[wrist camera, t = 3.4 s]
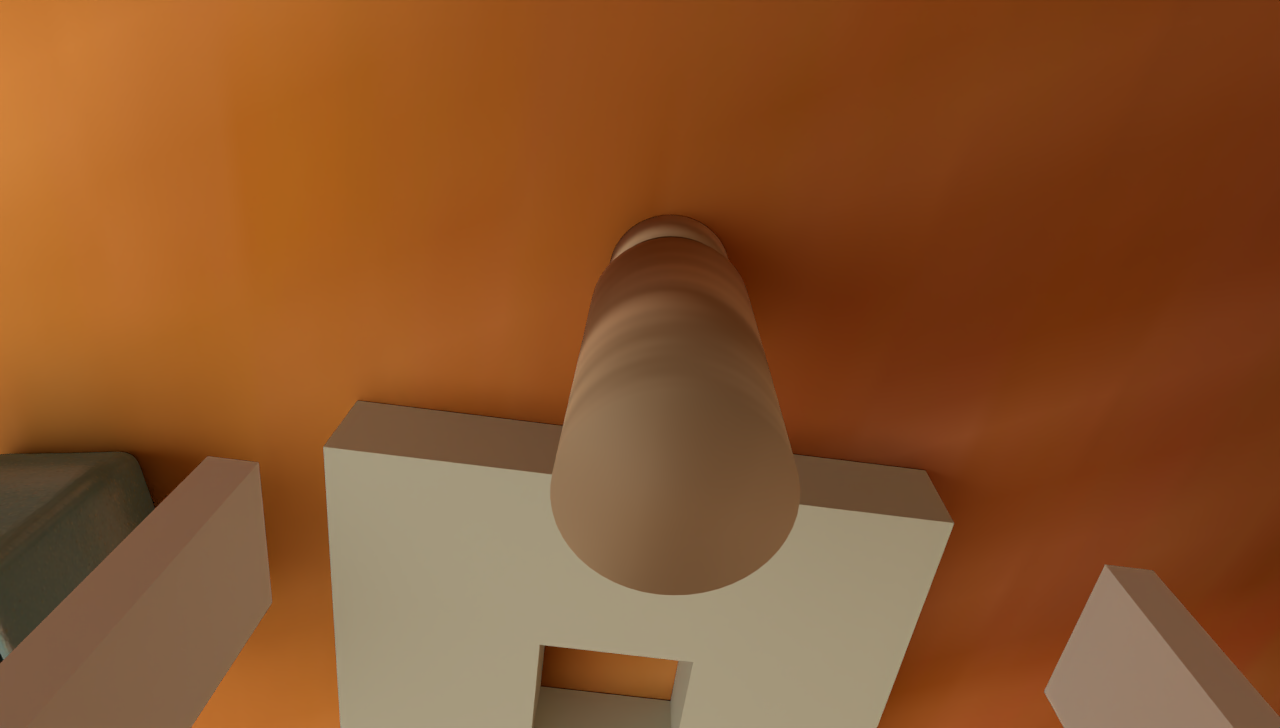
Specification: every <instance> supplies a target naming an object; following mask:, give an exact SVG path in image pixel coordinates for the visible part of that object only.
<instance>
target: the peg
mask: <svg viewBox="0 0 1280 728" xmlns="http://www.w3.org/2000/svg"><path fill="white" fill-rule="evenodd" d="M550 500H551V507H552V512H553V516H554V519H555V522H556V525H557V527H558V529H559V531H560V533H561V535H562V537H563V539H564V540H565V542H566V543H567V545H568V546H569V548H570V549H571V550H572V551H573V552H574V553H575V554H576V555H577V557H578V558H579V559H580V560H582V561H583V562H584V563H585V564H586V565H587V566H588V567H590V568H591V569H592V570H594V571H595V572H597V573H598V574H600V575H601V576H603V577H605V578H607V579H609V580H611V581H613V582H615V583H617V584H620V585H622V586H625V587H627V588H630V589H634V590H638V591H641V592H646V593H652V594H659V595H691V594H698V593H704V592H708V591H713V590H717V589H720V588H723V587H725V586H728V585H731V584H733V583H735V582H737V581H739V580H742V579H744V578H746V577H747V576H749V575H750V574H752V573H753V572H755V571H757V570H758V569H759V568H760V567H762V566H763V565H764V564H765V563H767V562H768V561H769V560H770V559H771V558H772V557H773V556H774V555H775V554H776V553H777V551H778V550H779V549H780V548H781V546H782V545H783V543H784V542H785V541H786V539H787V537H788V536H789V534H790V532H791V530H792V528H793V526H794V523H795V520H796V517H797V514H798V509H799V503H800V482H799V475H798V471H797V467H796V463H795V460H794V456H793V453H792V449H791V446H790V442H789V438H788V435H787V431H786V428H785V424H784V420H783V417H782V413H781V410H780V406H779V403H778V399H777V395H776V392H775V388H774V385H773V381H772V378H771V374H770V370H769V367H768V363H767V360H766V356H765V353H764V349H763V345H762V342H761V338H760V335H759V331H758V327H757V324H756V320H755V317H754V313H753V310H752V306H751V302H750V299H749V295H748V292H747V289H746V286H745V284H744V281H743V279H742V277H741V276H740V274H739V273H738V271H737V269H736V268H735V267H734V266H733V265H732V263H731V262H730V261H729V260H728V256H727V253H726V251H725V249H724V246H723V244H722V243H721V241H720V240H719V238H718V237H717V236H716V235H715V234H714V233H713V232H712V231H711V230H710V229H709V228H708V227H706V226H705V225H703V224H702V223H700V222H698V221H696V220H694V219H691V218H688V217H684V216H679V215H661V216H655V217H652V218H649V219H646V220H644V221H642V222H640V223H638V224H636V225H635V226H633V227H632V228H631V229H630V230H628V231H627V232H626V233H625V234H624V236H623V237H622V238H621V239H620V241H619V242H618V244H617V245H616V247H615V249H614V251H613V254H612V257H611V261H610V264H609V265H608V267H607V268H606V269H605V270H604V272H603V273H602V275H601V276H600V278H599V280H598V282H597V284H596V287H595V290H594V293H593V297H592V301H591V305H590V310H589V314H588V318H587V323H586V327H585V332H584V336H583V340H582V345H581V349H580V354H579V358H578V362H577V367H576V371H575V375H574V380H573V384H572V389H571V393H570V397H569V402H568V406H567V410H566V415H565V419H564V424H563V428H562V432H561V437H560V441H559V446H558V450H557V454H556V459H555V463H554V467H553V472H552V478H551V484H550Z"/></svg>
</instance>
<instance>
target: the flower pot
mask: <svg viewBox="0 0 1280 728" xmlns="http://www.w3.org/2000/svg"><path fill="white" fill-rule="evenodd" d="M154 509H155V507H154V504H153V501H152V498H151V496H150V493H149V490H148V487H147V485H146V482H145V479H144V476H143V473H142V470H141V468H140V465H139V463H138V461H137V460H136V459H135V457H134V456H132V455H131V454H128V453H125V452H85V453H37V454H0V661H3V660H4V659H5V658H6V657H7V656H8V655H9V654H10V653H11V652H12V651H13V650H14V649H15V648H16V647H17V646H18V645H19V644H20V643H21V642H22V641H23V640H24V639H25V638H26V637H27V636H28V635H29V634H30V633H31V632H32V631H33V630H34V629H35V628H36V627H37V626H38V625H39V624H40V623H41V622H42V621H43V620H44V619H45V618H46V617H47V616H48V615H49V614H50V613H51V612H52V611H53V610H54V609H55V608H56V607H57V606H58V605H59V604H60V603H61V602H62V601H63V600H64V599H65V598H66V597H67V596H68V595H69V594H70V593H71V592H72V591H73V590H74V589H75V588H76V587H77V586H78V585H79V584H80V583H81V582H82V581H83V580H84V579H85V578H86V577H87V576H88V575H89V574H90V573H91V572H92V571H93V570H94V569H95V568H96V567H97V566H98V565H99V564H100V563H101V562H102V561H103V560H104V559H105V558H106V557H107V556H108V555H109V554H110V553H111V552H112V551H113V550H114V549H115V548H116V547H117V546H118V545H119V544H120V543H121V542H122V541H123V540H124V539H125V538H126V537H127V536H128V535H129V534H130V533H131V532H132V531H133V530H134V529H135V528H136V527H137V526H138V525H139V524H140V523H141V522H142V521H143V520H144V519H145V518H146V517H147V516H148V515H149V514H150V513H151V512H152V511H153V510H154Z"/></svg>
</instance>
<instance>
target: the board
mask: <svg viewBox="0 0 1280 728" xmlns="http://www.w3.org/2000/svg"><path fill="white" fill-rule="evenodd" d="M562 428H563V426H560V425H552V424H544V423H535V422H527V421H519V420H511V419H503V418H495V417H487V416H479V415H470V414H462V413H454V412H446V411H438V410H430V409H422V408H414V407H405V406H397V405H389V404H381V403H373V402H365V401H357V402H356V403H355V405H354V406H353V407H352V409H351V410H350V411H349V413H348V414H347V415H346V417H345V418H344V420H343V421H342V422H341V424H340V425H339V426H338V428H337V429H336V430H335V432H334V433H333V434H332V436H331V437H330V438H329V440H328V441H327V443H326V444H325V445H324V447H323V450H324V467H325V483H326V499H327V516H328V532H329V548H330V565H331V581H332V597H333V614H334V630H335V646H336V663H337V679H338V695H339V712H340V728H877V726H878V724H879V721H880V718H881V716H882V713H883V710H884V708H885V705H886V702H887V700H888V697H889V694H890V692H891V689H892V687H893V684H894V681H895V679H896V676H897V673H898V671H899V668H900V665H901V663H902V660H903V657H904V655H905V652H906V649H907V647H908V644H909V642H910V639H911V636H912V634H913V631H914V628H915V626H916V623H917V620H918V618H919V615H920V612H921V610H922V607H923V604H924V602H925V599H926V597H927V594H928V591H929V589H930V586H931V583H932V581H933V578H934V575H935V573H936V570H937V567H938V565H939V562H940V559H941V557H942V554H943V552H944V549H945V546H946V544H947V541H948V538H949V536H950V533H951V530H952V528H953V525H954V522H953V520H952V518H951V516H950V515H949V513H948V511H947V509H946V507H945V505H944V504H943V502H942V500H941V498H940V496H939V494H938V493H937V491H936V489H935V487H934V485H933V483H932V482H931V480H930V478H929V476H928V474H927V472H926V471H925V470H918V469H910V468H901V467H893V466H885V465H877V464H869V463H861V462H853V461H844V460H836V459H828V458H820V457H812V456H804V455H796V454H793V456H794V460H795V463H796V467H797V471H798V475H799V482H800V503H799V509H798V514H797V517H796V520H795V523H794V526H793V528H792V530H791V532H790V534H789V536H788V537H787V539H786V541H785V542H784V543H783V545H782V546H781V548H780V549H779V550H778V551H777V553H776V554H775V555H774V556H773V557H772V558H771V559H770V560H769V561H768V562H767V563H765V564H764V565H763V566H762V567H760V568H759V569H758V570H757V571H755V572H753V573H752V574H750V575H749V576H747V577H746V578H744V579H742V580H739V581H737V582H735V583H733V584H731V585H728V586H725V587H723V588H720V589H717V590H713V591H708V592H704V593H698V594H691V595H659V594H652V593H646V592H641V591H638V590H634V589H630V588H627V587H625V586H622V585H620V584H617V583H615V582H613V581H611V580H609V579H607V578H605V577H603V576H601V575H600V574H598V573H597V572H595V571H594V570H592V569H591V568H590V567H588V566H587V565H586V564H585V563H584V562H583V561H582V560H580V559H579V558H578V557H577V555H576V554H575V553H574V552H573V551H572V550H571V549H570V548H569V546H568V545H567V543H566V542H565V540H564V539H563V537H562V535H561V533H560V531H559V529H558V527H557V525H556V522H555V519H554V516H553V512H552V507H551V500H550V484H551V478H552V472H553V467H554V463H555V459H556V454H557V450H558V446H559V441H560V437H561V432H562ZM545 645H546V646H555V647H564V648H573V649H581V650H590V651H599V652H608V653H616V654H625V655H634V656H643V657H652V658H660V659H669V660H678V661H679V662H678V667H677V671H676V676H675V681H674V686H673V691H672V696H671V701H666V700H657V699H648V698H640V697H631V696H622V695H613V694H604V693H595V692H586V691H577V690H568V689H559V688H550V687H541V678H542V668H543V658H544V648H545Z"/></svg>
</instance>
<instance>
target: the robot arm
mask: <svg viewBox="0 0 1280 728" xmlns="http://www.w3.org/2000/svg"><path fill="white" fill-rule="evenodd" d="M271 604H272V594H271V583H270V573H269V563H268V552H267V542H266V531H265V521H264V511H263V500H262V490H261V480H260V469H259V462H252V461H244V460H236V459H228V458H219V457H211V456H207V457H206V458H205V459H204V460H203V461H202V462H201V463H200V464H199V465H198V466H197V467H196V468H195V469H194V470H193V471H192V472H191V473H190V474H189V475H188V476H187V477H186V478H185V479H184V480H183V481H182V482H181V483H180V484H179V485H178V486H177V487H176V488H175V489H174V490H173V491H172V492H171V493H170V494H169V495H168V496H167V497H166V498H165V499H164V500H163V501H162V502H161V503H160V504H159V505H158V506H157V507H156V508H155V509H154V510H153V511H152V512H151V513H150V514H149V515H148V516H147V517H146V518H145V519H144V520H143V521H142V522H141V523H140V524H139V525H138V526H137V527H136V528H135V529H134V530H133V531H132V532H131V533H130V534H129V535H128V536H127V537H126V538H125V539H124V540H123V541H122V542H121V543H120V544H119V545H118V546H117V547H116V548H115V549H114V550H113V551H112V552H111V553H110V554H109V555H108V556H107V557H106V558H105V559H104V560H103V561H102V562H101V563H100V564H99V565H98V566H97V567H96V568H95V569H94V570H93V571H92V572H91V573H90V574H89V575H88V576H87V577H86V578H85V579H84V580H83V581H82V582H81V583H80V584H79V585H78V586H77V587H76V588H75V589H74V590H73V591H72V592H71V593H70V594H69V595H68V596H67V597H66V598H65V599H64V600H63V601H62V602H61V603H60V604H59V605H58V606H57V607H56V608H55V609H54V610H53V611H52V612H51V613H50V614H49V615H48V616H47V617H46V618H45V619H44V620H43V621H42V622H41V623H40V624H39V625H38V626H37V627H36V628H35V629H34V630H33V631H32V632H31V633H30V634H29V635H28V636H27V637H26V638H25V639H24V640H23V641H22V642H21V643H20V644H19V645H18V646H17V647H16V648H15V649H14V650H13V651H12V652H11V653H10V654H9V655H8V656H7V657H6V658H5V659H4V660H3V661H0V728H191V727H192V725H193V724H194V722H195V721H196V719H197V718H198V716H199V715H200V713H201V712H202V710H203V708H204V707H205V705H206V704H207V702H208V701H209V699H210V698H211V696H212V695H213V693H214V692H215V690H216V688H217V687H218V685H219V684H220V682H221V681H222V679H223V678H224V676H225V675H226V673H227V672H228V670H229V668H230V667H231V665H232V664H233V662H234V661H235V659H236V658H237V656H238V655H239V653H240V651H241V650H242V648H243V647H244V645H245V644H246V642H247V641H248V639H249V638H250V636H251V635H252V633H253V631H254V630H255V628H256V627H257V625H258V624H259V622H260V621H261V619H262V618H263V616H264V615H265V613H266V611H267V610H268V608H269V607H270V605H271ZM1044 693H1045V694H1046V696H1047V698H1048V700H1049V702H1050V703H1051V705H1052V707H1053V709H1054V711H1055V712H1056V714H1057V716H1058V718H1059V720H1060V721H1061V723H1062V725H1063V727H1064V728H1280V717H1279V716H1278V715H1277V714H1276V712H1275V711H1274V710H1273V709H1272V708H1271V707H1270V705H1269V704H1268V703H1267V702H1266V701H1265V700H1264V699H1263V697H1262V696H1261V695H1260V694H1259V693H1258V692H1257V690H1256V689H1255V688H1254V687H1253V686H1252V685H1251V683H1250V682H1249V681H1248V680H1247V679H1246V678H1245V677H1244V675H1243V674H1242V673H1241V672H1240V671H1239V670H1238V668H1237V667H1236V666H1235V665H1234V664H1233V663H1232V661H1231V660H1230V659H1229V658H1228V657H1227V656H1226V654H1225V653H1224V652H1223V651H1222V650H1221V649H1220V648H1219V646H1218V645H1217V644H1216V643H1215V642H1214V641H1213V639H1212V638H1211V637H1210V636H1209V635H1208V634H1207V632H1206V631H1205V630H1204V629H1203V628H1202V627H1201V626H1200V624H1199V623H1198V622H1197V621H1196V620H1195V619H1194V617H1193V616H1192V615H1191V614H1190V613H1189V612H1188V610H1187V609H1186V608H1185V607H1184V606H1183V605H1182V604H1181V602H1180V601H1179V600H1178V599H1177V598H1176V597H1175V595H1174V594H1173V593H1172V592H1171V591H1170V590H1169V588H1168V587H1167V586H1166V585H1165V584H1164V583H1163V582H1162V580H1161V579H1160V578H1159V577H1158V576H1157V575H1156V573H1155V572H1154V571H1153V570H1145V569H1137V568H1129V567H1121V566H1112V565H1105V566H1104V568H1103V570H1102V572H1101V574H1100V576H1099V579H1098V581H1097V583H1096V585H1095V587H1094V589H1093V591H1092V593H1091V595H1090V597H1089V599H1088V601H1087V603H1086V605H1085V608H1084V610H1083V612H1082V614H1081V616H1080V618H1079V620H1078V622H1077V624H1076V626H1075V628H1074V630H1073V632H1072V634H1071V637H1070V639H1069V641H1068V643H1067V645H1066V647H1065V649H1064V651H1063V653H1062V655H1061V657H1060V659H1059V661H1058V663H1057V666H1056V668H1055V670H1054V672H1053V674H1052V676H1051V678H1050V680H1049V682H1048V684H1047V686H1046V688H1045V690H1044Z"/></svg>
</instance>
